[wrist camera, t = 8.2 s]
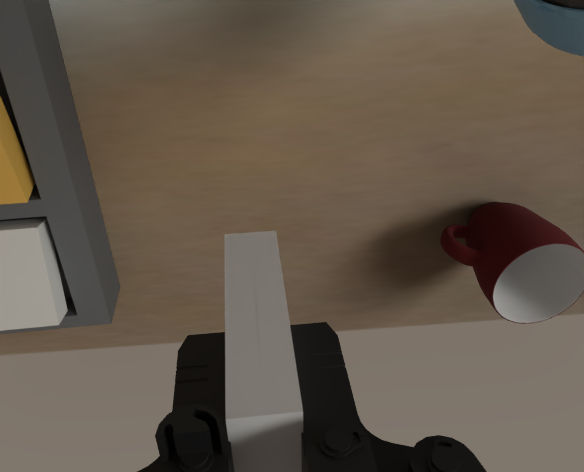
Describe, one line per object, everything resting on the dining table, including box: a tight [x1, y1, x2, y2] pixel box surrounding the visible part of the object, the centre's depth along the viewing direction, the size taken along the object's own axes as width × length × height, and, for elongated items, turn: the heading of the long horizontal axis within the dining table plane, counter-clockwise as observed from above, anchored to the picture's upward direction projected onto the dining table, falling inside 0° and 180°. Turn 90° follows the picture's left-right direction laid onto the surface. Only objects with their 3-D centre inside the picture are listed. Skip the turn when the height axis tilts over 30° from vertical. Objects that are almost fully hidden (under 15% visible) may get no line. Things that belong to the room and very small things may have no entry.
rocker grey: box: [0, 218, 68, 331], centre depth 42 cm, size 8×5×2 cm, turn 1°
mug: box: [440, 202, 584, 324], centre depth 47 cm, size 10×8×10 cm
